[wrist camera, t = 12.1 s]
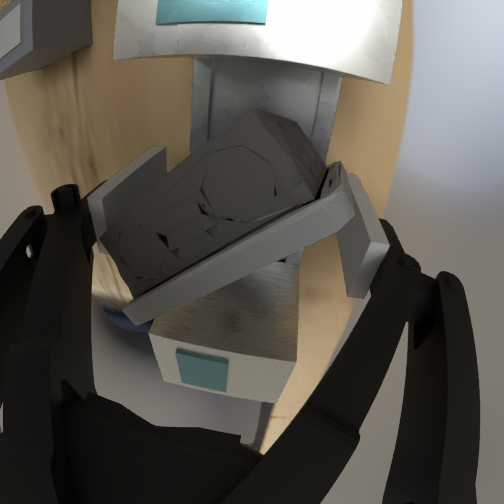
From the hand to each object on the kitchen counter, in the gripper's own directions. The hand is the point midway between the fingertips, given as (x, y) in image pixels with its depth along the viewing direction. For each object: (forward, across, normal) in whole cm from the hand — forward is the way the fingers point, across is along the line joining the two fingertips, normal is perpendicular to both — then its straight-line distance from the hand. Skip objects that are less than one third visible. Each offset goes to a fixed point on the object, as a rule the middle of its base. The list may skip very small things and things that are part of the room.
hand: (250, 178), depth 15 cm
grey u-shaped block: (+3, 0, 0) cm, 3 cm away
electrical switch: (0, 0, 0) cm, 1 cm away
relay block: (+3, -16, +10) cm, 19 cm away
